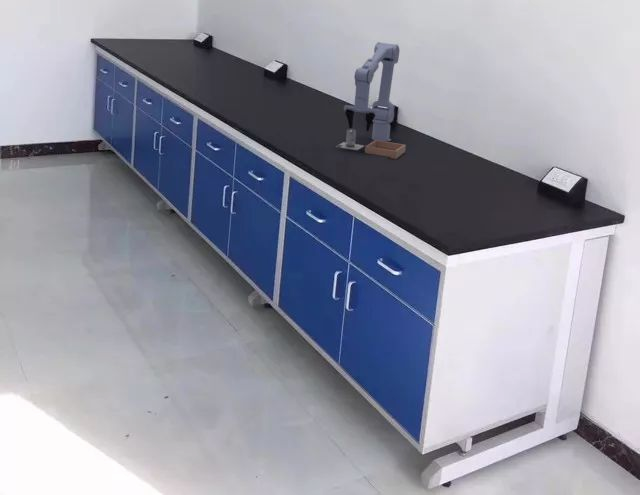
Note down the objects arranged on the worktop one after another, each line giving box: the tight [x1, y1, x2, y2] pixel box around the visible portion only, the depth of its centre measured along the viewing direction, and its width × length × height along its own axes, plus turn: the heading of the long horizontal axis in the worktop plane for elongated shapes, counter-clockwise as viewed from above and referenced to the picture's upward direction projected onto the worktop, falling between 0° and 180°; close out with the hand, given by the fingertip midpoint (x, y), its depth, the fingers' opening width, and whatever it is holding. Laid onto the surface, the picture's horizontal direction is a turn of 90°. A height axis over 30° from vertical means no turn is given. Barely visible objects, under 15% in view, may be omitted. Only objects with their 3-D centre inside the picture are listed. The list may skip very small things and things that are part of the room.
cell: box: [345, 128, 357, 147], centre depth 344 cm, size 4×4×8 cm
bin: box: [364, 140, 407, 160], centre depth 340 cm, size 14×14×4 cm
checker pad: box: [335, 141, 365, 151], centre depth 345 cm, size 10×10×1 cm
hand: (359, 129), depth 336 cm, fingers open, 7 cm apart
